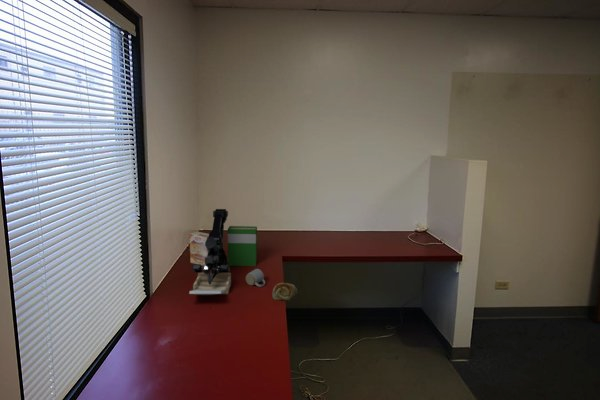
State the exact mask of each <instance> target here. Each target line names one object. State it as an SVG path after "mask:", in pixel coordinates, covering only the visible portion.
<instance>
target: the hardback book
mask: <svg viewBox="0 0 600 400" xmlns="http://www.w3.org/2000/svg"><path fill="white" fill-rule="evenodd" d="M257 263H258V226H253V225H252V226H248V225H247V226H245V225H244V226H242V225H229V226H228V228H227V264H228V265H229V267H230V266H231V267H232V266H235V267H236V266H238V267H241V266H242V267H245V266H246V267H247V266H248V267H256V266H257Z"/></svg>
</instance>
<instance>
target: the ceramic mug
mask: <svg viewBox="0 0 600 400" xmlns="http://www.w3.org/2000/svg"><path fill="white" fill-rule="evenodd" d="M263 272H264V271H262V269H259V268H255V269H254V270H253V269H252V271H250V272H248V273H247V274H246V275H245V282H246V283H247V285H249V286H255V285H256V286H257V287H259V288H262V287H265V285H266V280H265V275H264V273H263ZM261 282H262V283H263V284H259V283H261Z"/></svg>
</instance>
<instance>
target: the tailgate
mask: <svg viewBox="0 0 600 400" xmlns="http://www.w3.org/2000/svg"><path fill="white" fill-rule="evenodd" d="M224 291H225V290H193V289H191V290H189V293H188V294H189V295H196V296H215V295H222V294H221V293H223V292H224Z"/></svg>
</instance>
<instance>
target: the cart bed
mask: <svg viewBox="0 0 600 400" xmlns="http://www.w3.org/2000/svg"><path fill="white" fill-rule="evenodd" d="M210 277H211V272H210ZM231 286H232V273H231V272H229V273H219V274H217V275H216V276H215V277H214V279H213V281H212V282H211V284H209V283H208V278H207V274H205V273H204V272H201V273H197V277H196V279H195V281H194V283H193V284H192V290H225V291H224V292H223V293H221V294H220V295H229V293H230V289H231Z"/></svg>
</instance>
